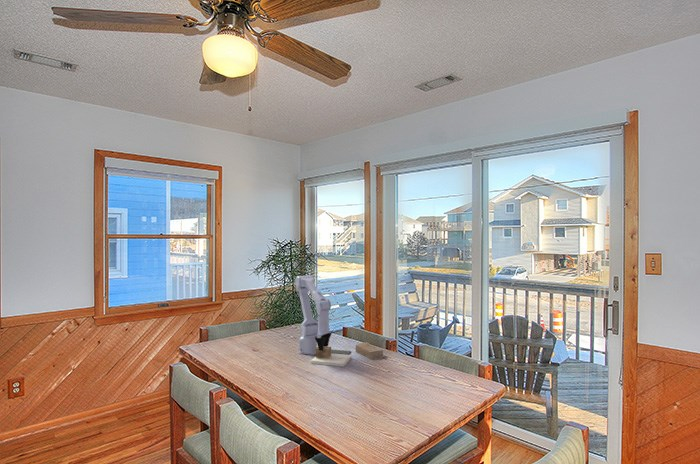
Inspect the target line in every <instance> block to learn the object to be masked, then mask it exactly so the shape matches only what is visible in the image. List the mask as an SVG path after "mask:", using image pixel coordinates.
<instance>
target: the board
mask: <svg viewBox="0 0 700 464" xmlns="http://www.w3.org/2000/svg"><path fill="white" fill-rule="evenodd" d="M351 359H352V355H351V354H349V355H343V354H332V353H331V357H330V358H329V359H321V358H316V355H314V357H313V358H312V359H311V360H310V364H313V365H324V366H333V367H345V366H346V365H347V364H348V363H349V361H350V360H351Z"/></svg>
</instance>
